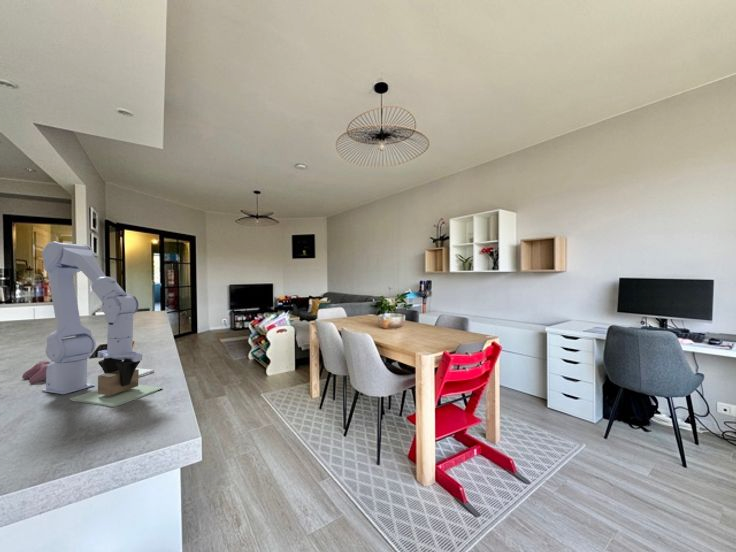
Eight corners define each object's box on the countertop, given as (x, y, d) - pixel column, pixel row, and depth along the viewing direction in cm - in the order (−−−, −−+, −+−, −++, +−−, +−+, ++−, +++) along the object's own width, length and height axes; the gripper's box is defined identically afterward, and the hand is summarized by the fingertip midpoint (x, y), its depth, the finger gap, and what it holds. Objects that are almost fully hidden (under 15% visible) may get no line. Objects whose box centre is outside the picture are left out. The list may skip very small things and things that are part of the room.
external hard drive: (154, 374, 111) (119, 385, 99) (135, 372, 112) (99, 383, 100) (154, 369, 111) (120, 380, 99) (135, 367, 112) (99, 378, 100)
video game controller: (46, 386, 100) (60, 364, 102) (27, 383, 96) (42, 361, 99) (37, 380, 105) (50, 360, 108) (19, 378, 101) (34, 356, 104)
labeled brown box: (126, 384, 94) (127, 367, 94) (138, 386, 92) (138, 368, 93) (97, 393, 86) (98, 375, 86) (109, 395, 85) (110, 376, 85)
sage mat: (70, 400, 85) (70, 398, 85) (122, 383, 98) (122, 382, 98) (113, 407, 80) (113, 405, 80) (162, 389, 94) (162, 387, 94)
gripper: (86, 338, 88) (85, 386, 87) (125, 341, 84) (123, 391, 84) (112, 334, 94) (111, 378, 94) (149, 336, 91) (148, 383, 90)
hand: (119, 384), depth 89 cm, fingers closed on labeled brown box, 4 cm apart
